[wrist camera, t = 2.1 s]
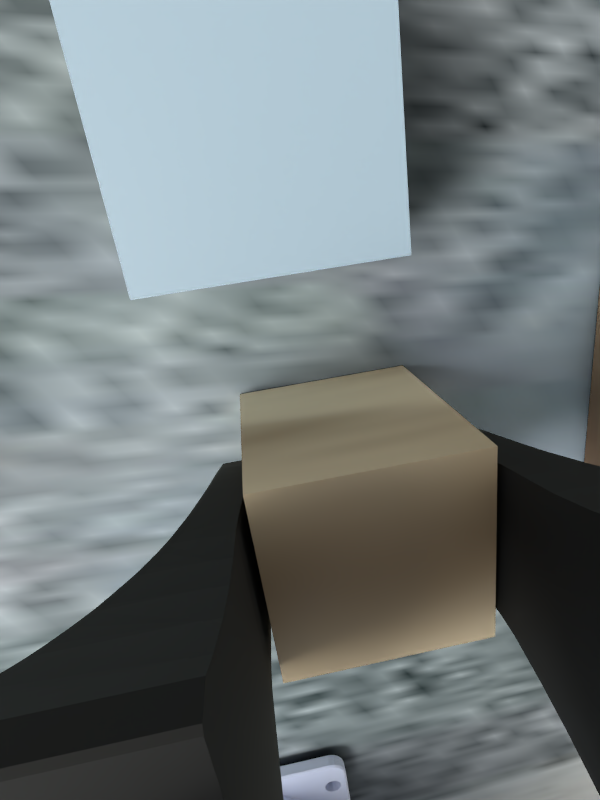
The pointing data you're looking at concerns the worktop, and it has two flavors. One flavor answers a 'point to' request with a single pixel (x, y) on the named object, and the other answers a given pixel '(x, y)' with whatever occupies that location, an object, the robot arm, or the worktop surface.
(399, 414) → the tan wooden cube
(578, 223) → the worktop surface
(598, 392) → the board
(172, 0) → the slate grey cube
